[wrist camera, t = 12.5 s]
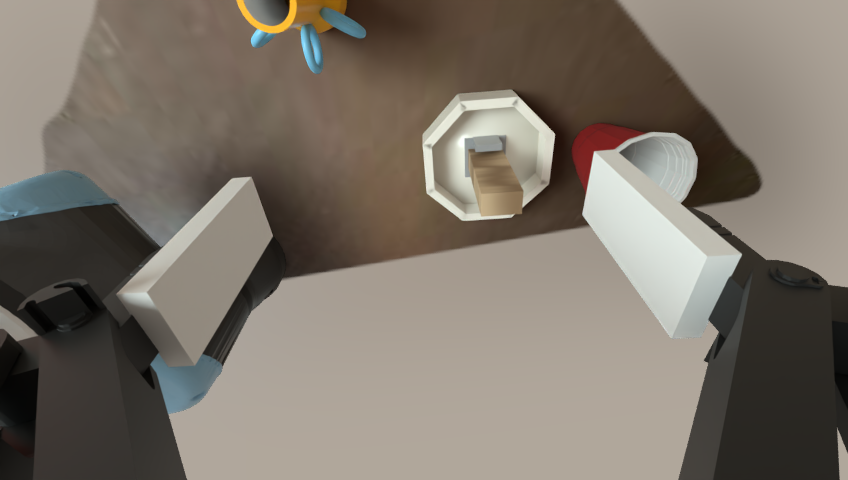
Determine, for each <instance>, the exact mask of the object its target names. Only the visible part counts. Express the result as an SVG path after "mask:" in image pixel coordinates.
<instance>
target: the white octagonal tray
mask: <svg viewBox="0 0 848 480" xmlns="http://www.w3.org/2000/svg"><path fill="white" fill-rule="evenodd" d="M554 140H555V133H554V132H553V131H552V130H551V129H550V128H549V127H548V126H547V125H546V124H545V123H544V122H543V121H542V120H541V119H540V118H539V117H538V116H537V115H536V114H535V113H534V112H533V111H532V110H531V108H530V107H529V106H528V105H527V104H526V103H525V102H524V101H523V100H522V99H521V98H520V97H519V96H518V95H517V94H516V93H515V92H514V91H513V90H500V91H488V92H475V93H463V94H457V95H456V96H455V98H454V99H453V100H452V101H451V102H450V103H449V105H448V106H447V107H446V108H445V109H444V110H443V112H442V113H441V114H440V115H439V116H438V117H437V118H436V120H435V121H434V122H433V123H432V124H431V125H430V127H429V128H428V129H427V130H426V131H425V132H424V134H423V153H424V165H425V178H426V190H427V194H429V195H430V196H431V197H433V198H434V199H435V200H436V201H438V202H439V203H440V204H442V205H443V206H444V207H446V208H447V209H448V210H449V211H451V212H452V213H453V214H455V215H456V216H457V217H458V218H460V219H461V220H462V221H469V220H483V219H498V218H511V217H512V216H513V215H515V214H512V215H498V216H483V217H481V214H480V211H479V207H478V203H477V199H476V195H475V192H474V188H473V184H472V180H471V177H470V173H469V169H468V149H475V152H485V151H499V150H503V152H504V154H505V156H506V157H507V159H508V161H509V163H510V165H511V167H512V169H513V171H514V173H515V175H516V177H517V179H518V181H519V183H520V185H521V187H522V189H523V191H524V192H523V205H522V207H524V206H525V205H526V204H527V203H528V202H529V201H530V200H532V199H533V198H534V197H535V196H536V195H537V194H538V193H540V192H541V191H542V190H543V189H544V188H545V187H546V186H548V185H549V180H550V172H551V164H552V156H553V148H554Z"/></svg>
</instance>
